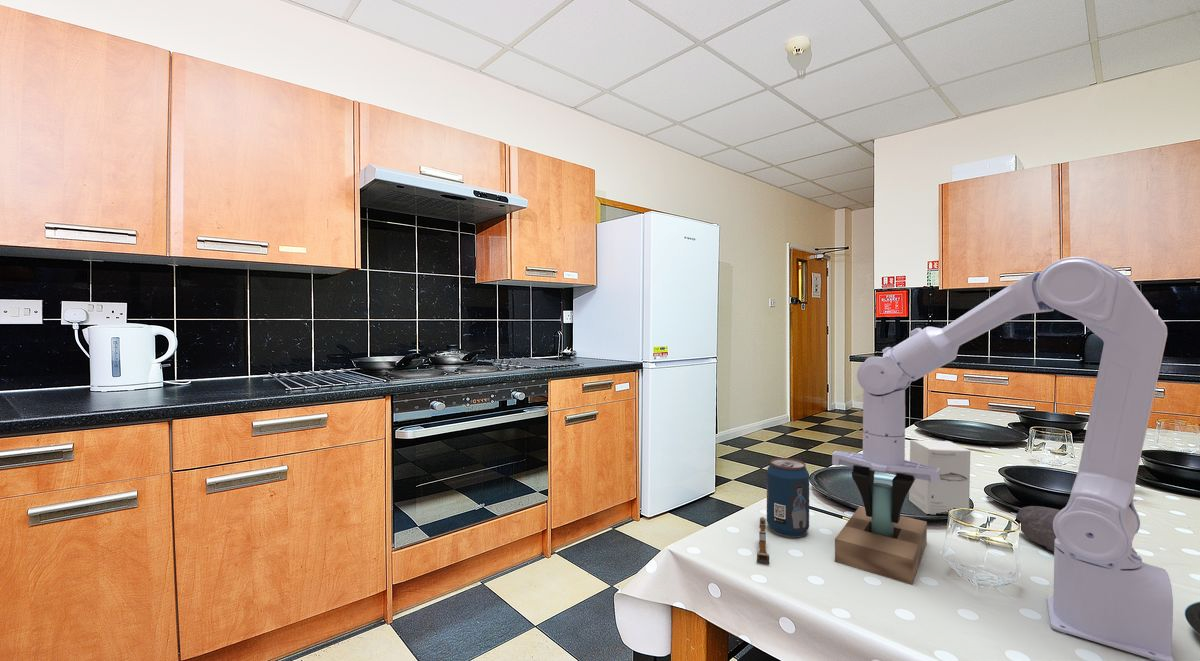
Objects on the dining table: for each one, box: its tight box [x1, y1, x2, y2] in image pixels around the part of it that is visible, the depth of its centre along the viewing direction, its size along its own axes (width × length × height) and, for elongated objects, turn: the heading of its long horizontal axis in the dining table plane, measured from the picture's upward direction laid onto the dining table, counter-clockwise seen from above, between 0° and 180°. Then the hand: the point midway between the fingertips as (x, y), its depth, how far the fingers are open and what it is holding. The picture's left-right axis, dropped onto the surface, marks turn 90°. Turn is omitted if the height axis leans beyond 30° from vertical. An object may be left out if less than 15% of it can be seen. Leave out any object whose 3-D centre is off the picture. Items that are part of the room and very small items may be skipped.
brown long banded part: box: [756, 516, 770, 564], centre depth 76 cm, size 2×8×4 cm, turn 162°
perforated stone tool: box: [1015, 505, 1062, 553], centre depth 74 cm, size 15×5×7 cm, turn 6°
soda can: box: [766, 457, 810, 539], centre depth 83 cm, size 7×7×12 cm
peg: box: [871, 482, 894, 538], centre depth 75 cm, size 3×3×8 cm
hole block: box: [834, 506, 928, 585], centre depth 76 cm, size 10×16×4 cm, turn 140°
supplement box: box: [908, 439, 971, 515], centre depth 92 cm, size 7×7×13 cm
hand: (882, 517), depth 76 cm, fingers closed on peg, 3 cm apart
